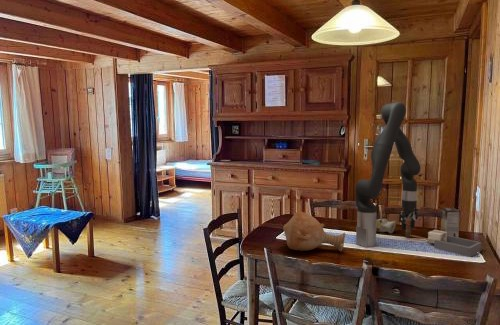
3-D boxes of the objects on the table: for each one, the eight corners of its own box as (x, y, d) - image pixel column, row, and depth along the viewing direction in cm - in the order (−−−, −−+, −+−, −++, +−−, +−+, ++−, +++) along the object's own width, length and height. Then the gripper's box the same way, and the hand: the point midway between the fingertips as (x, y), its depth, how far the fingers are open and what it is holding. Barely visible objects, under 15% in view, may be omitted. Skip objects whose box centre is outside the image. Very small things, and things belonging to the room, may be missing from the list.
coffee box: (440, 236, 198) (441, 207, 197) (453, 236, 197) (454, 207, 195) (445, 241, 189) (446, 210, 188) (459, 241, 188) (460, 211, 186)
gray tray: (469, 256, 166) (469, 248, 166) (434, 248, 179) (434, 240, 179) (481, 250, 174) (481, 242, 174) (446, 242, 187) (446, 235, 186)
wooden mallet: (440, 246, 180) (440, 234, 179) (402, 237, 195) (402, 226, 195) (446, 243, 184) (447, 232, 183) (409, 235, 200) (409, 224, 199)
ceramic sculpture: (393, 220, 199) (366, 218, 207) (394, 236, 199) (366, 233, 208) (397, 216, 208) (371, 214, 216) (398, 231, 208) (371, 229, 216)
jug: (285, 218, 195) (342, 226, 190) (280, 253, 185) (340, 262, 181) (285, 203, 178) (348, 211, 173) (280, 240, 168) (346, 250, 164)
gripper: (409, 196, 201) (408, 225, 203) (395, 199, 193) (394, 229, 194) (423, 198, 195) (421, 228, 197) (408, 201, 187) (407, 232, 188)
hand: (408, 228), depth 195 cm, fingers open, 8 cm apart
